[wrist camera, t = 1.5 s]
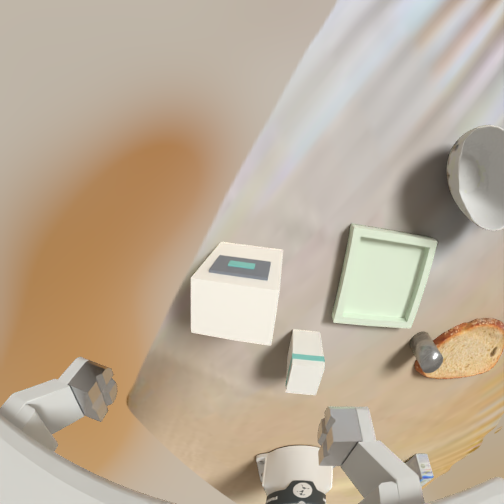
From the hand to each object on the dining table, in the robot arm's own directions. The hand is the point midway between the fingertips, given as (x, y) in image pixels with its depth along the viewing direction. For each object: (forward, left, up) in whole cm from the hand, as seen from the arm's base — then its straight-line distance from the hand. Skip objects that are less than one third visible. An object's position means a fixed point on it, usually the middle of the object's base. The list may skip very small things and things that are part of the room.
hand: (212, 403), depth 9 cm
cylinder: (-15, -26, -28) cm, 41 cm away
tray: (-5, -16, -28) cm, 32 cm away
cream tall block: (-6, +2, -28) cm, 28 cm away
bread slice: (-17, -38, -28) cm, 50 cm away
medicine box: (-55, -45, -28) cm, 76 cm away
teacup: (+11, -27, -28) cm, 41 cm away
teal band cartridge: (-17, -7, -28) cm, 33 cm away
